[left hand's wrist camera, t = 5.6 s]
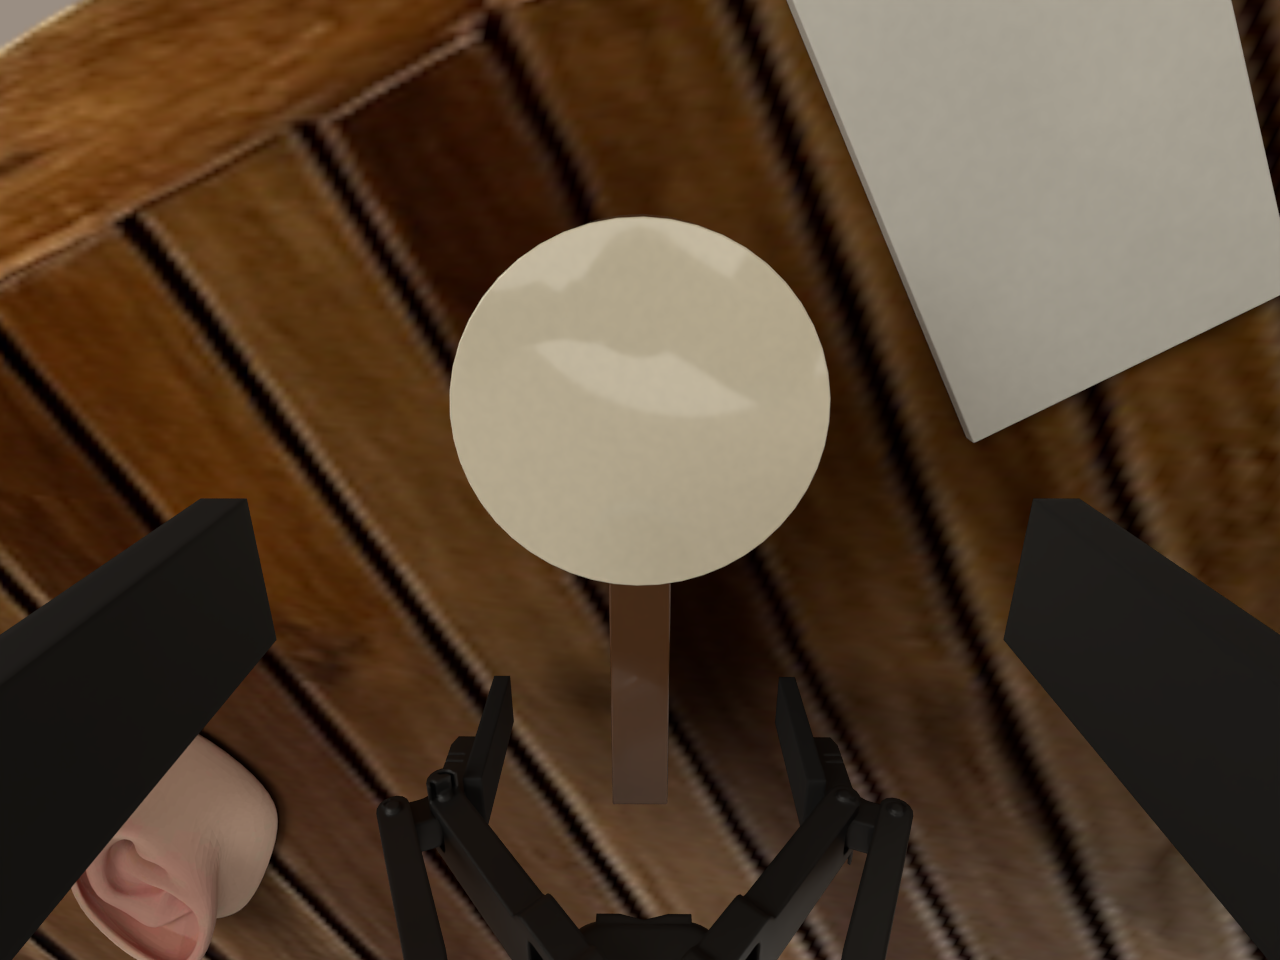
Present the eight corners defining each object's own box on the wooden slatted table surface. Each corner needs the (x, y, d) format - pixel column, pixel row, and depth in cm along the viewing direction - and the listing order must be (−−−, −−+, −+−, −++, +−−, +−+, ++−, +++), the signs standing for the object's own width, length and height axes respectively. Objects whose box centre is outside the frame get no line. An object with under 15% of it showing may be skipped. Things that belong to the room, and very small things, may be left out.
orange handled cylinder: (544, 248, 30) (512, 264, 23) (735, 248, 30) (767, 264, 23) (565, 717, 39) (547, 840, 31) (714, 717, 39) (732, 840, 31)
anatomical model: (66, 748, 34) (290, 849, 37) (122, 695, 38) (322, 790, 40) (-15, 914, 38) (192, 996, 41) (43, 851, 42) (229, 930, 44)
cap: (856, 450, 25) (889, 487, 22) (582, 586, 27) (574, 639, 24) (712, 143, 22) (725, 133, 18) (408, 324, 23) (371, 344, 20)
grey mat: (1280, 285, 31) (1296, 288, 30) (966, 438, 33) (973, 443, 32) (1157, -247, 25) (1174, -261, 24) (781, -11, 27) (785, -17, 26)
